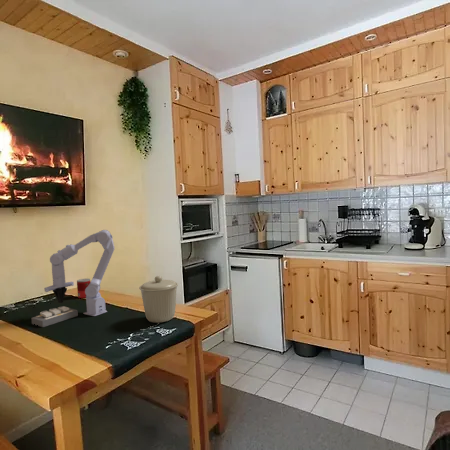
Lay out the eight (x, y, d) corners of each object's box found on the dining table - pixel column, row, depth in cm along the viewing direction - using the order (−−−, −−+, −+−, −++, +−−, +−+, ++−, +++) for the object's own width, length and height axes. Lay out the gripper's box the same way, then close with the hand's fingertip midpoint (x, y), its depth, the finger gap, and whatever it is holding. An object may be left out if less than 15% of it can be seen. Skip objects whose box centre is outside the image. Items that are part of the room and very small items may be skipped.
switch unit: (77, 315, 172) (77, 309, 172) (42, 327, 157) (42, 320, 157) (66, 313, 178) (66, 307, 178) (31, 323, 163) (31, 317, 162)
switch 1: (51, 315, 163) (52, 313, 163) (45, 317, 161) (45, 315, 161) (46, 312, 166) (46, 310, 166) (40, 314, 164) (40, 312, 163)
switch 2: (60, 313, 167) (60, 310, 167) (54, 314, 165) (55, 312, 164) (54, 309, 170) (54, 307, 170) (49, 311, 167) (49, 309, 167)
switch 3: (69, 309, 171) (69, 307, 171) (63, 311, 168) (63, 309, 168) (63, 308, 174) (63, 305, 174) (57, 309, 171) (57, 307, 171)
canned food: (88, 298, 206) (87, 280, 206) (75, 299, 206) (74, 281, 206) (93, 295, 214) (92, 278, 213) (81, 295, 214) (80, 278, 213)
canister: (163, 311, 173) (160, 270, 172) (187, 317, 162) (185, 274, 161) (133, 321, 159) (130, 277, 158) (158, 328, 148) (155, 281, 147)
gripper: (67, 273, 179) (69, 297, 180) (40, 278, 167) (42, 305, 168) (75, 273, 176) (77, 299, 176) (48, 279, 163) (50, 307, 164)
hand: (60, 302), depth 172 cm, fingers closed
